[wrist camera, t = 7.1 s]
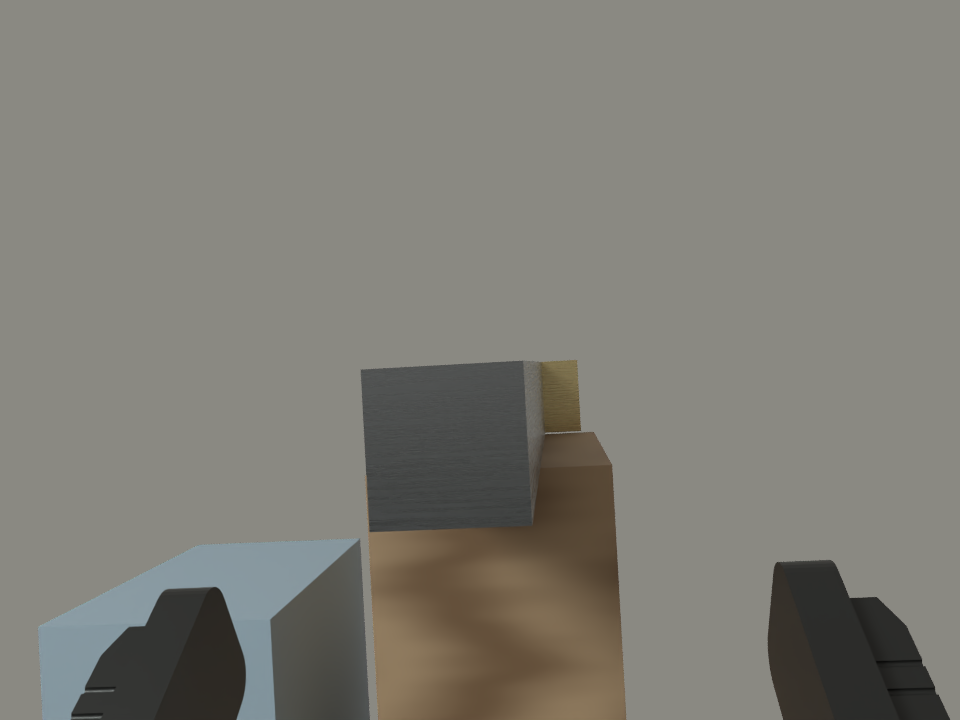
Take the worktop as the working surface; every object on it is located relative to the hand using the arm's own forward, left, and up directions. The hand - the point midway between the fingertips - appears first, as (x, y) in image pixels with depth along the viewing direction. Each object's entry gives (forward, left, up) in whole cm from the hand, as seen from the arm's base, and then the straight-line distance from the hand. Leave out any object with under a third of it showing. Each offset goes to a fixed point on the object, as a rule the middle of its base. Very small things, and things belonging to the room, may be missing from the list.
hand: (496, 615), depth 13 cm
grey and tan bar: (-1, +14, +1) cm, 14 cm away
